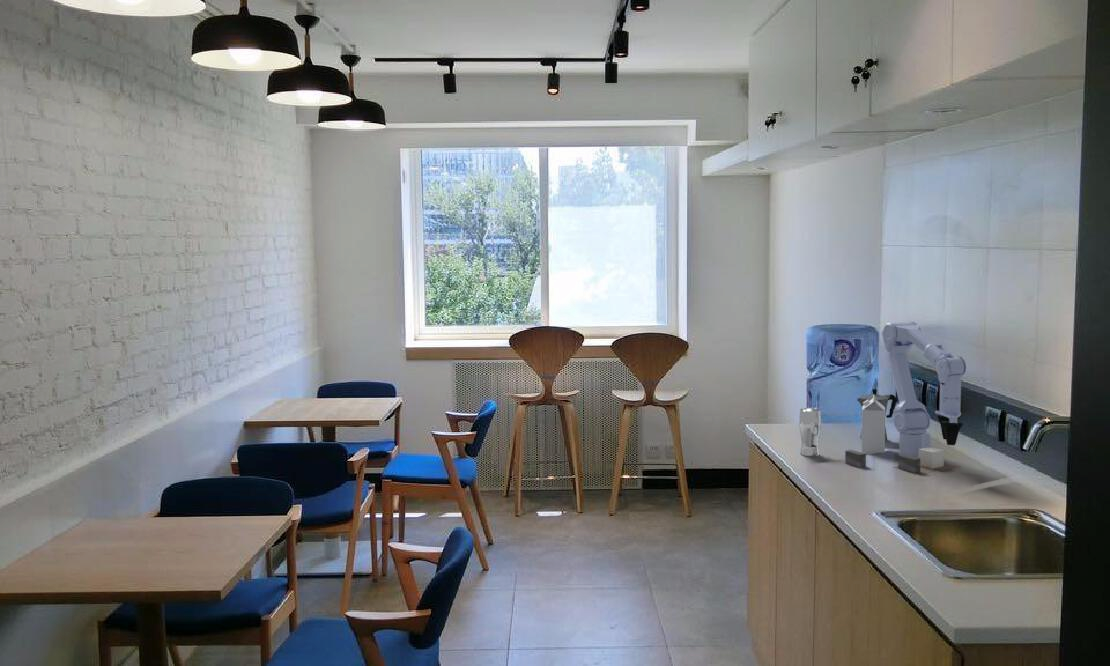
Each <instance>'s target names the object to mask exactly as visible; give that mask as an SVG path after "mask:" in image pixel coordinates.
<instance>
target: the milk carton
mask: <svg viewBox="0 0 1110 666" xmlns="http://www.w3.org/2000/svg"><path fill="white" fill-rule="evenodd" d="M863 404H864V405H863V406H861V430H862V440H861V451H860V452H861V453H865V454H866V456H869V455H874V454H880V453H883V454H885V452H886V451H885V450H886V448H885V445H886V444H885V443H886V441H885V427H886V415H885V407H884V406H883V405H882V404H881V403H879V402H878V401H877V400H876V399H875V398H874V395H873V399H871V400H870V401H869V400H866V401H864V402H863Z"/></svg>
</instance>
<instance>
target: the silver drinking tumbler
mask: <svg viewBox="0 0 1110 666" xmlns="http://www.w3.org/2000/svg"><path fill="white" fill-rule="evenodd" d="M798 420H799V421H798V423H799V425H798V426H799V427H798V428H799V433H800V439H801V449H800V452H799V453H800V455H801V456H804V457H810V458H811V457H813V458H814V457H819V456H820V448H819V442H820V441H819V440H820V435H821V431H822V430H821V429H822V410H821V409H820V408H817V407H802V408H800V409H799V419H798Z"/></svg>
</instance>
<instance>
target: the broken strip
mask: <svg viewBox="0 0 1110 666" xmlns="http://www.w3.org/2000/svg"><path fill="white" fill-rule="evenodd" d="M844 459H845V460H844V463H845V464H846V465H849V466H853V467H857V468H864V467H866V466H867V465H866V464H867V455H866V454H865V453H861V451H858V450H852V449H848V450H845V456H844Z"/></svg>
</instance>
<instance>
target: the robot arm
mask: <svg viewBox="0 0 1110 666" xmlns="http://www.w3.org/2000/svg"><path fill="white" fill-rule="evenodd" d="M881 336H882V338H883V339H882V340H883V343H884V348H885V350H886V351H887V356H888V357H887V358H888V361H889V365H890V368H891V369H890V370H891V373H892V378H893V382H894V386H895V390H896V394H897V400H898V404H896V406H895V409H894V410H893V425H894V427H895V429H896V430H897V432H899V449H898V450H899V451H898V452H899V454H898V456H899V455H904V454H905V455H909V456H913V457H917V458H919V449H922V448H927V447H932V438H931V435H930V434H929V433H928V432H927V430H928V429H929V427H930V426H931V416H930V414H929V413H928V410H927V409H926V406H925V404H923V403H922V402H921V401H919V400H917V399H918V398H917V396H916V394H917V393H916V391H915V388H914V383H913V379H912V374H911V371H910V366H909V362H908V357H907V351H908V350H910V349H911V348H912V347H913V345H914V346H916V347H917V348H918V349H920V350H921V351H923V357H925V359H926V360H927V361H928V362H929V363H931V364H932V365H933V366H934V367H935V371H936V373H937V375H938V377H937V378H938V379H937V380H938V382H939V386H940V387H939V410H935V411H934V413H935V414H936V416H937V419H938V422H939V424H940V429H941V435H942V439H943V440H945V442H946V444H947V446H955V445H956V444H957V440H958V435H959V432H960V430H961V428H962V427H963V426H964V423H963V422H961V421H960V422H958V418H959V417H960V416H961V415H962V412H961V404H962V403H961V402H962V401H961V399H962V398H961V397H962V392H961V391H962V376H963V375H965V374H966V370H967V364H966V361H965V360H964V358H963V357H962V356H960V355H958V356H955V355H954V354H952V353H951V352H949V351H948V350H947V349H946V348H945V347H943V344H941V343H939V342H937V343H936V342H932V341H931V340H930V339H929V338H928V337H927V336H926V335H925V334H924V333H923V332H922V330H921V326H920V325H919V324H918V323H917V322H915V321H907V322H905V321H904V322H887V323H885V325H884V327H883V329H882V333H881Z"/></svg>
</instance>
